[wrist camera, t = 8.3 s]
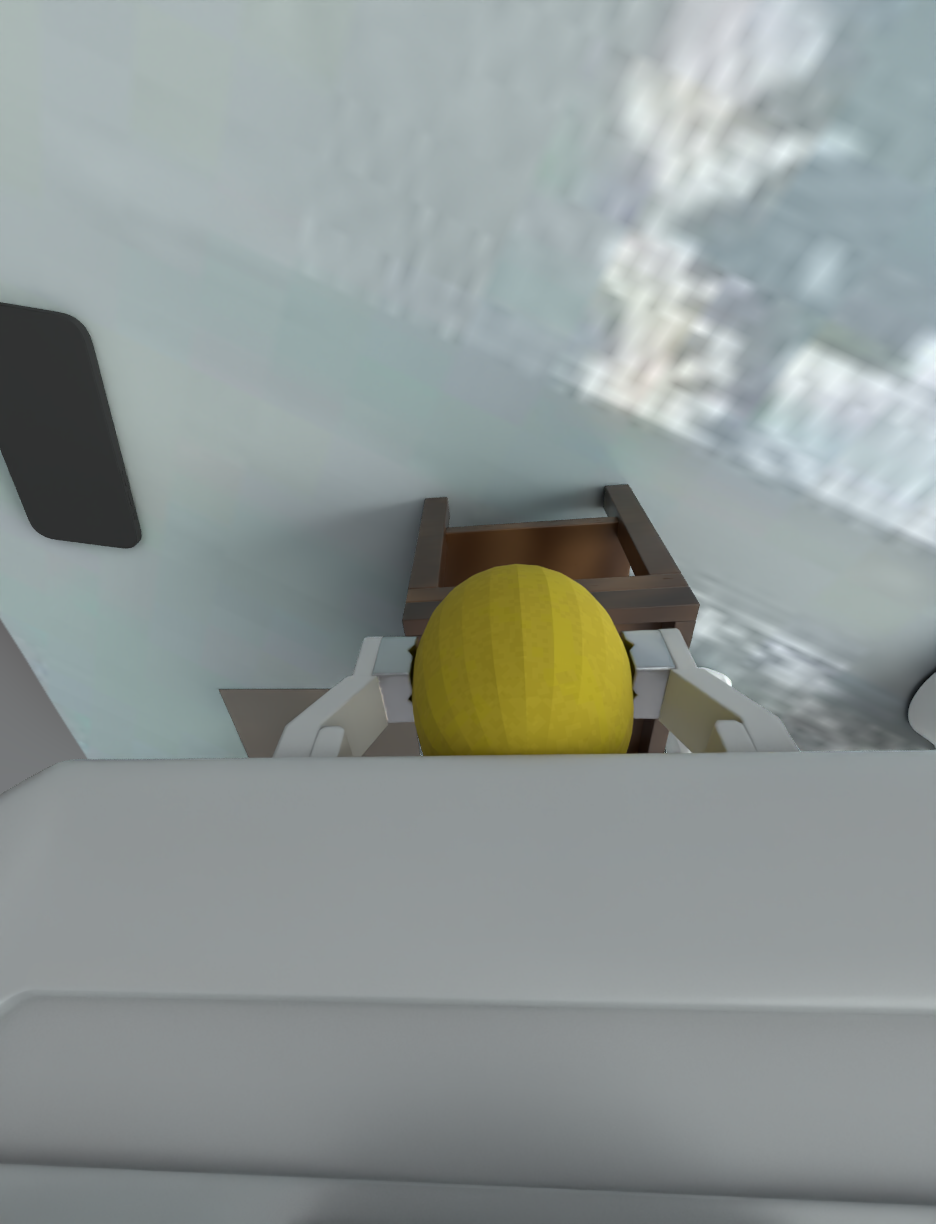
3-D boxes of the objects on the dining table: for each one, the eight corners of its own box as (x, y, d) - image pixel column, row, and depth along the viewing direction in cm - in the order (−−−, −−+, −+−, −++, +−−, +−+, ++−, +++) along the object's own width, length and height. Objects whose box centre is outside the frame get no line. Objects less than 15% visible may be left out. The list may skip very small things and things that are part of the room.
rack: (628, 483, 35) (700, 604, 24) (610, 640, 43) (657, 783, 32) (425, 498, 35) (401, 620, 24) (446, 649, 44) (435, 791, 33)
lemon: (613, 637, 17) (684, 876, 11) (459, 669, 19) (443, 902, 12) (584, 491, 14) (661, 707, 8) (401, 542, 15) (339, 765, 9)
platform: (218, 689, 47) (186, 746, 42) (411, 688, 47) (403, 746, 42) (253, 768, 54) (229, 825, 49) (421, 768, 54) (415, 826, 49)
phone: (79, 318, 28) (141, 551, 37) (88, 316, 29) (147, 545, 38) (-64, 294, 28) (34, 537, 37) (-51, 293, 28) (42, 531, 37)
